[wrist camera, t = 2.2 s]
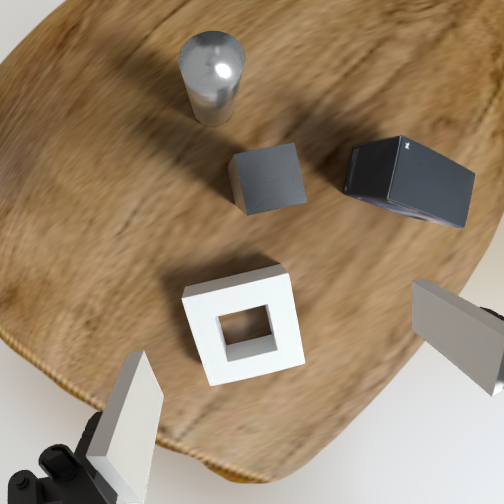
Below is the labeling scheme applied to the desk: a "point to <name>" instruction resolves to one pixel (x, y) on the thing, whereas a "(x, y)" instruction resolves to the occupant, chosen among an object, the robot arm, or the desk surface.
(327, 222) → the desk surface
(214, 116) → the round bit
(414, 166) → the small box
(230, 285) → the socket block
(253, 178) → the square bit
